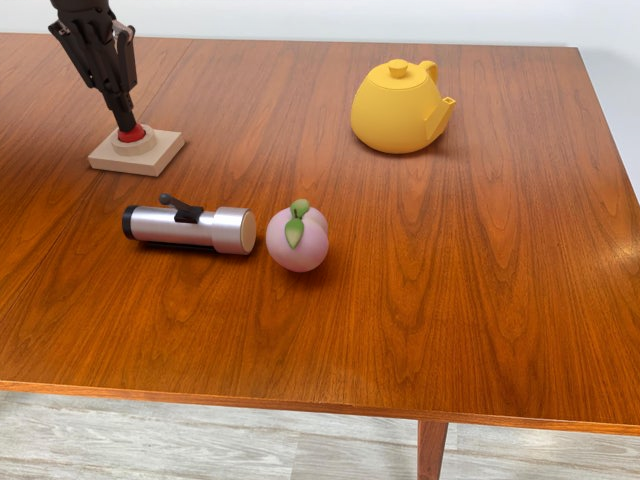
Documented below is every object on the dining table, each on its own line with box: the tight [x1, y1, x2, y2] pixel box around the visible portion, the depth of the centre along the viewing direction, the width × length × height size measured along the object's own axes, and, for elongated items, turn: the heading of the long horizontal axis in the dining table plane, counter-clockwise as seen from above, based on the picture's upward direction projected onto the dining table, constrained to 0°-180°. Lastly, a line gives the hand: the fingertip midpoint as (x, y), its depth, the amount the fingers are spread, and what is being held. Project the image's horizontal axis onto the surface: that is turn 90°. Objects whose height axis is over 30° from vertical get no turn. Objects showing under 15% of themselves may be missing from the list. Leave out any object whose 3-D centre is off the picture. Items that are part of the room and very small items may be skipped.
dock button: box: [117, 122, 145, 143], centre depth 96 cm, size 4×4×2 cm
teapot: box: [350, 58, 457, 155], centre depth 98 cm, size 20×19×13 cm
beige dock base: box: [87, 123, 186, 177], centre depth 98 cm, size 12×10×4 cm
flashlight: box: [121, 204, 257, 256], centre depth 81 cm, size 17×6×6 cm, turn 82°
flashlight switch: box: [158, 192, 192, 213], centre depth 75 cm, size 2×2×7 cm
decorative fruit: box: [265, 198, 330, 273], centre depth 77 cm, size 9×8×10 cm
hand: (128, 127), depth 96 cm, fingers closed
